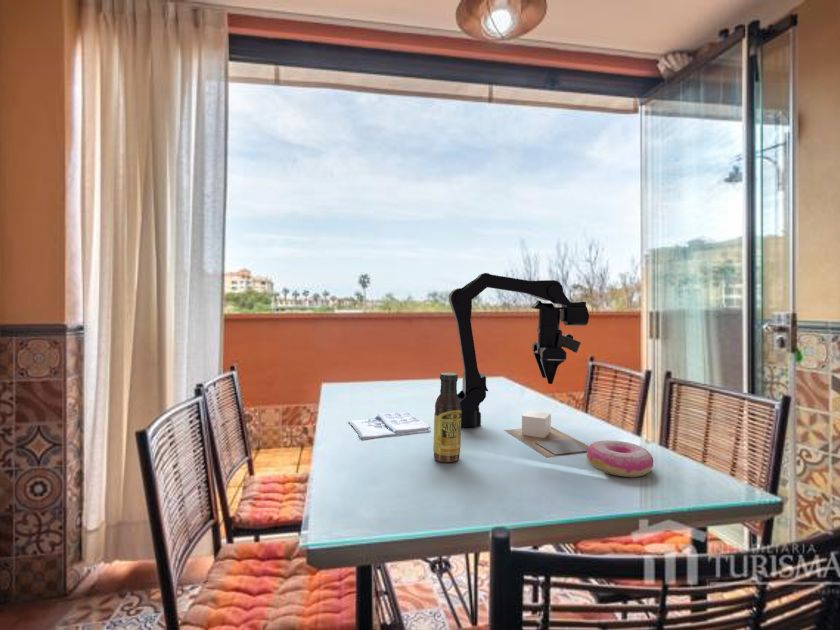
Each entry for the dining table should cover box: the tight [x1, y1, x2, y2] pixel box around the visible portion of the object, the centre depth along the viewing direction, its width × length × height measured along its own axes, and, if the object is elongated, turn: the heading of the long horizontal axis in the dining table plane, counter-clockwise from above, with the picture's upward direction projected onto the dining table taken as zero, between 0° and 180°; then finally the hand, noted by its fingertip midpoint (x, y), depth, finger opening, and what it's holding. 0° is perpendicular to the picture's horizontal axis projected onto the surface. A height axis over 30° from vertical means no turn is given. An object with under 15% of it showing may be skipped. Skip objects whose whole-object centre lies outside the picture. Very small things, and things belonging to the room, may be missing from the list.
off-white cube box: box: [521, 410, 552, 438], centre depth 126 cm, size 6×6×5 cm
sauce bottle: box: [433, 372, 462, 463], centre depth 110 cm, size 7×6×20 cm
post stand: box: [503, 426, 590, 458], centre depth 121 cm, size 14×22×4 cm, turn 16°
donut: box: [586, 440, 654, 478], centre depth 104 cm, size 14×13×5 cm
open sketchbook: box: [347, 411, 431, 440], centre depth 137 cm, size 19×20×2 cm
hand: (547, 380), depth 134 cm, fingers open, 9 cm apart
